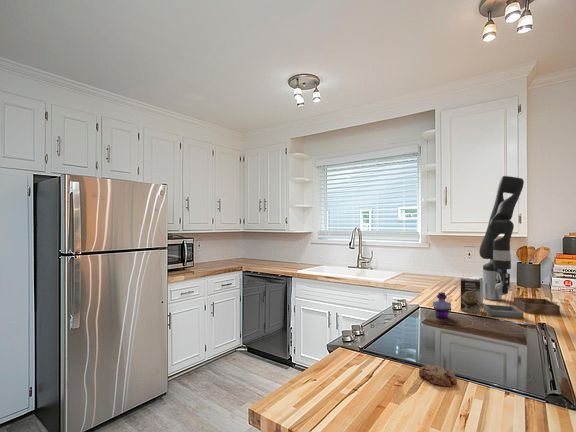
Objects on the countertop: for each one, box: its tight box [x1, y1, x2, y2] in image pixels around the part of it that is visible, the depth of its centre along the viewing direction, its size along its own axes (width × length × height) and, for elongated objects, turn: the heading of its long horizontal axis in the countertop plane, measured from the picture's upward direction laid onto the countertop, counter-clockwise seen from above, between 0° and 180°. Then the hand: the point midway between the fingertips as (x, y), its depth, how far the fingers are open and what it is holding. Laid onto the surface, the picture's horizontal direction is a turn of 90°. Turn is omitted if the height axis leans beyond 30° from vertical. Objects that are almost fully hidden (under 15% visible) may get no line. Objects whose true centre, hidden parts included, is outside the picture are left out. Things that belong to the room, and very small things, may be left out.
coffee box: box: [459, 278, 481, 314], centre depth 169 cm, size 9×6×16 cm
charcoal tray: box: [482, 303, 524, 319], centre depth 162 cm, size 14×14×3 cm
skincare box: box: [466, 275, 484, 305], centre depth 183 cm, size 8×6×15 cm
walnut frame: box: [513, 296, 561, 316], centre depth 169 cm, size 15×15×4 cm
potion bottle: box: [432, 291, 452, 320], centre depth 157 cm, size 9×9×12 cm
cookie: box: [418, 364, 458, 388], centre depth 96 cm, size 10×11×3 cm
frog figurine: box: [495, 282, 511, 296], centre depth 163 cm, size 6×7×7 cm
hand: (502, 292), depth 162 cm, fingers closed on frog figurine, 6 cm apart
